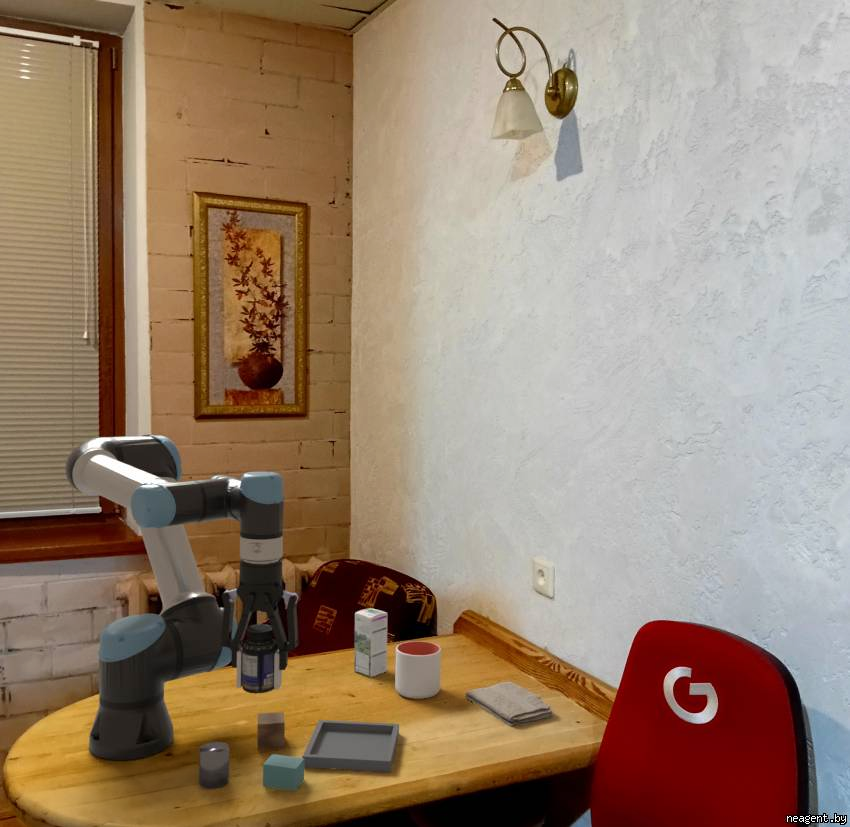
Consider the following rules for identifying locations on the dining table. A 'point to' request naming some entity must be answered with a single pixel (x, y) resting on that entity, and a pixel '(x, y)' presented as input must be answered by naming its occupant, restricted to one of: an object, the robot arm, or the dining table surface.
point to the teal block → (283, 772)
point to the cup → (417, 669)
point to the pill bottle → (258, 659)
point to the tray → (352, 745)
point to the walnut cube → (270, 731)
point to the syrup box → (370, 642)
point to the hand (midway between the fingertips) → (259, 685)
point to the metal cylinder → (214, 765)
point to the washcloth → (511, 703)
